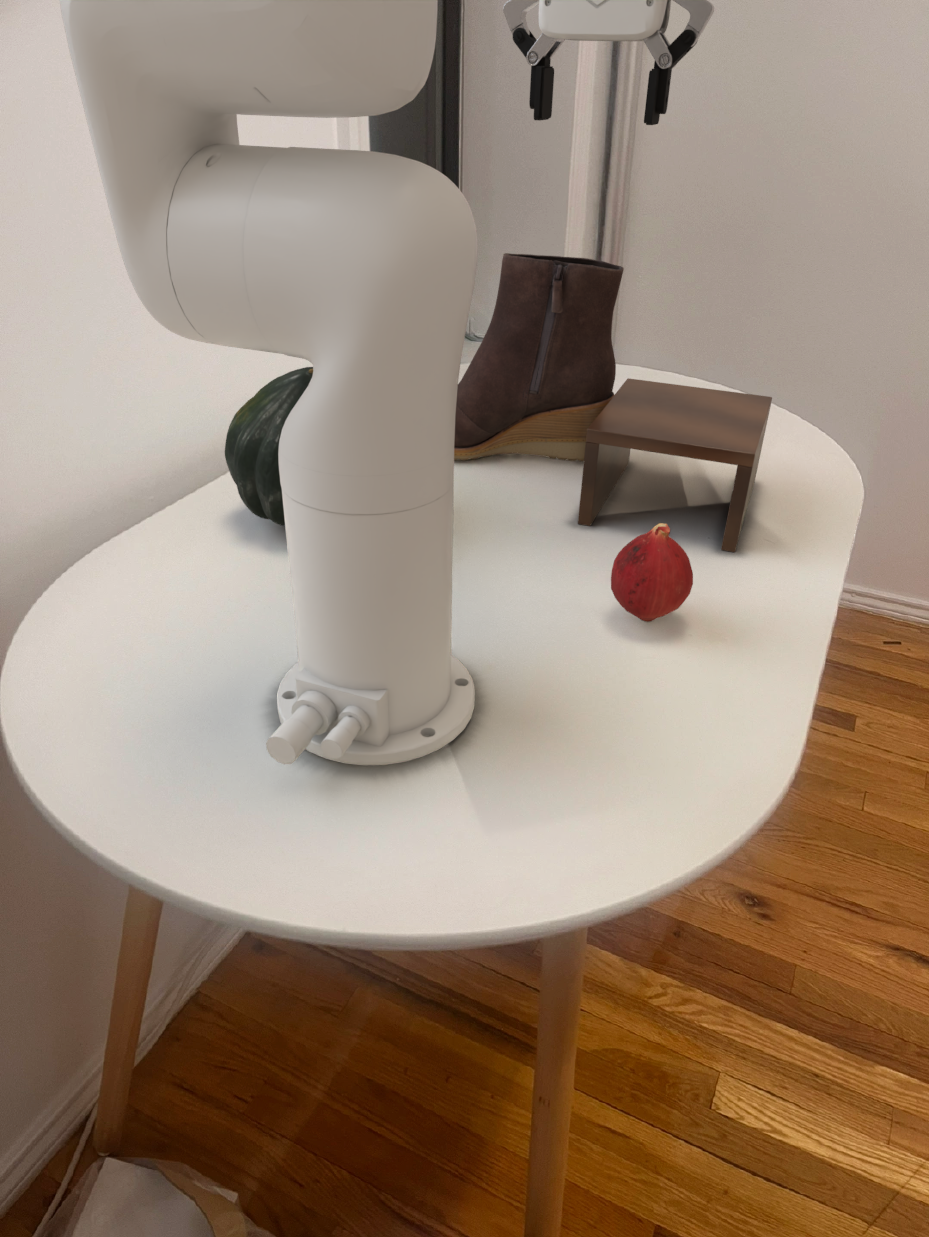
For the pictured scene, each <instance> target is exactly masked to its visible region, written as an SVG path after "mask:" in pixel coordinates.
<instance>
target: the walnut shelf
mask: <svg viewBox="0 0 929 1237" xmlns="http://www.w3.org/2000/svg"><path fill="white" fill-rule="evenodd" d="M772 400H773V397H772V396H767V395H760V394H752V393H745V392H744V393H743V392H736V391H729V390H722V389H721V390H720V389H713V388H705V387H697V386H690V385H683V384H682V385H681V384H675V383H667V382H658V381H651V380H644V379H636V378H629V377H627V379H626V380H625V381H624V382H623V383H622V385H621V386H620V387H619V389H618V390H617V391H616V392H615V393H614V396H613V397H612V399H611V400H610V401H609V402H608V404H607V405H606V406H605V407H604V409H603V410H602V411H601V412H600V414H599V415H598V416H597V418H596V419H595V420H594V421H593V423H592V424H591V425H590V426H589V428H588V429H587V435H586V444H585V455H584V461H583V465H582V466H583V467H582V476H581V484H580V485H581V487H580V495H579V507H578V516H577V524H578V525H582V526H586V527H587V526H588V527H591V526H592V524H593V523H594V521H595V519H596V517H597V516H598V514H599V512H600V511H601V510H602V508H603V507H604V505H605V503H606V502H607V500H608V498H609V496H610V495H611V493H612V492H613V491H614V489H615V487H616V485H617V484H618V482H619V481H620V479H621V477H622V476H623V474H624V472H625V471H626V470H627V468H628V466H629V462H630V457H631V456H630V455H631V450H635V451H636V450H637V451H642V452H648V453H649V452H650V453H656V454H662V455H670V456H676V457H683V458H688V459H694V460H700V461H708V462H715V463H720V464H721V463H722V464H727V465H734V466H737V467H736V470H735V476H734V482H733V486H732V491H731V495H730V496H731V497H730V502H729V507H728V512H727V517H726V522H725V528H724V532H723V537H722V542H721V548H720V551H724V552H729V553H730V552H731V553H736V551H737V546H738V543H739V540H740V537H741V533H742V530H743V526H744V523H745V518H746V515H747V512H748V508H749V504H750V500H751V497H752V493H753V490H754V486H755V483H756V482H755V481H756V477H757V472H758V468H759V463H760V460H761V459H760V458H761V454H762V449H763V445H764V444H763V443H764V439H765V434H766V430H767V425H768V420H769V415H770V411H771V406H772V403H773V402H772Z"/></svg>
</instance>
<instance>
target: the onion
mask: <svg viewBox="0 0 929 1237" xmlns="http://www.w3.org/2000/svg"><path fill="white" fill-rule="evenodd" d="M670 533H671V528H670V526H669V525H668V523H663V522H662V523H661V522H660V523H659V522H658V524H656V525H655V526H654V527H652V528H651V529H650V530H648V531H647V532H646V533H642V534H640V535H637V536H635V538H633V539H632V540H630V541H629V542H627V544H625V545H624V546H623V547H622V548H621V549H620V550H619V552H618V553H617V555H616V556H615V558H614V560H613V565H612V568H611V573H610V589H611V591H612V594H613V596H614V599H615V600H616V601H617V602H618V604H619V605H620V607H622V608H623V610H625V611H626V612H628V613H629V614H631V615H632V616H633V617H636V618H638V619H639V620H641V621H642V622H644V623H645V622H646V623H648V622H649V623H650V622H654V621H655V620H657V619H659V618H662V617H665V616H667V615H669V614H670V613H671V614H672V613H673V612H674V611H677V610H678V609H679V608H681V606H682V605H683V603H684V602H686V600H687V598H688V597H689V596H690V594H691V592H692V588H693V585H694V572H693V568H692V564H691V561H690V558H689V556H688V554H687V552H686V551H685V549H684V548H683V547H682V546H681V544H679V543H678V541H676V540H675V539H673V537H671V536H670Z"/></svg>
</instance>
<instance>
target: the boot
mask: <svg viewBox="0 0 929 1237" xmlns="http://www.w3.org/2000/svg"><path fill="white" fill-rule="evenodd" d="M624 270H625V268H624V266H622V265H617V264H613V263H610V262H607V261H604V260H597V259H593V258H588V257H574V256H561V255H543V254H542V255H541V254H531V253H530V254H529V253H509V252H505V253H503V255H502V259H501V268H500V276H499V283H498V289H497V295H496V300H495V305H494V309H493V313H492V317H491V320H490V323H489V324H488V327H487V330H486V332H485V333H484V336H483V338H482V341H481V342H480V345H479V346H478V348H477V350H476V352H475V354H474V356H473V357H472V360H471V361H470V363H469V365H468V366H467V368H466V370H465V372H464V374H463V375H462V378H461V380H460V381H458V389H457V402H456V415H455V441H454V461H459V460H460V461H468V460H477V459H480V458H486V457H491V456H494V455H507V454H511V455H512V454H514V455H517V454H518V455H529V456H539V457H547V458H548V459H550V460H551V459H552V460H556V459H558V460H562V461H571V462H576V461H579V462H584V455H585V444H586V435H587V429H588V428H589V426H590V425H591V424H592V423H593V421H594V420H595V419H596V418H597V416H598V415H599V414H600V412H601V411H602V410H603V409H604V407H605V406H606V405H607V404H608V402H609V401H610V400H611V399H612V397H613V396H614V395H615V393H614V391H613V390H614V386H615V381H616V375H617V374H616V373H617V370H616V369H617V363H616V358H615V351H614V346H613V341H612V330H613V328H612V326H613V317H614V310H615V306H616V302H617V299H618V293H619V289H620V286H621V282H622V278H623V274H624Z"/></svg>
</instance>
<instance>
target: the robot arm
mask: <svg viewBox="0 0 929 1237" xmlns="http://www.w3.org/2000/svg"><path fill="white" fill-rule="evenodd" d="M672 1H673V2H675V3H676V4H677V5H679V6H680V7H682V8H683V9H685V10H686V11H687V12H688V13H689V20H688V22H687V24H686V26H685V28H684V29H683V31H682V32H681V33H680V34H679V35H678V36H677V37H676V38H675V39H674V40H673V41H672V42H671V43H670V41H669V39H668V38H667V36H666V34H665V33H666V32H667V29H668V26H669V20H670V15H671V7H672ZM59 5H60V13H61V18H62V23H63V27H64V28H63V29H64V32H65V37H66V42H67V46H68V50H69V56H70V60H71V63H72V67H73V71H74V76H75V79H76V83H77V88H78V91H79V95H80V100H81V103H82V108H83V111H84V115H85V119H86V123H87V127H88V132H89V136H90V139H91V143H92V148H93V151H94V155H95V160H96V163H97V167H98V172H99V175H100V179H101V183H102V187H103V191H104V194H105V199H106V203H107V207H108V210H109V215H110V219H111V222H112V226H113V230H114V234H115V238H116V241H117V245H118V248H119V251H120V252H119V253H120V255H121V258H122V262H123V265H124V267H125V270H126V273H127V275H128V278H129V281H130V282H131V284H132V287H133V289H134V291H135V293H136V295H137V297H138V299H139V301H140V302H141V304H142V306H144V308H145V310H146V311H147V312H148V314H150V316H152V318H153V319H154V320H155V321H157V323H159V324H160V325H161V326H162V327H163V328H164V329H166V330H168V331H170V332H171V333H173V334H175V335H177V336H180V337H182V338H185V339H188V340H191V341H195V342H201V343H205V344H211V345H216V346H217V345H218V346H220V347H221V346H222V347H228V348H237V349H242V350H250V351H251V350H252V351H258V352H265V353H273V354H280V355H284V356H287V357H292V358H298V359H304V360H305V361H309V362H310V364H311V365H312V367H313V376H312V379H311V381H310V383H309V385H308V387H307V388H306V390H305V391H304V393H303V394H302V396H301V397H300V399H299V400H298V402H297V403H296V405H295V406H294V407H293V409H292V410H291V412H290V414H289V415H288V417H287V419H286V421H285V423H284V426H283V428H282V432H281V436H280V440H279V451H278V461H279V474H280V484H281V488H282V498H283V508H284V518H285V526H284V528H285V538H286V539H285V540H286V548H287V558H288V559H287V560H288V570H289V576H290V577H289V579H290V590H291V599H292V610H293V611H292V612H293V620H294V631H295V640H296V642H295V643H296V651H297V662H295V663H294V664H293V665H292V666H291V667H290V668H289V669H288V670H287V671H286V672H285V673H284V674H285V675H284V676H283V678H282V679H281V681H280V683H279V686H278V689H277V693H276V705H277V706H276V708H277V713H278V719H279V722H280V725H279V726H278V728H276V730H275V731H274V732H273V733H272V734H271V735H270V736H269V737H268V739H267V740H266V742H265V745H266V751H267V752H268V755H269V756H270V757H271V758H272V759H274V760H275V761H276V762H278V763H280V764H283V765H293V763H295V762H296V761H297V760H298V759H299V757H300V756H301V755H302V753H303V752H304V751H305V750H306V751H307V752H309V753H311V754H314V755H316V756H319V757H321V758H323V759H326V760H330V761H334V762H337V763H341V764H348V765H355V766H387V765H393V764H401V763H405V762H410V761H413V760H416V759H419V758H422V757H425V756H428V755H429V754H432V753H434V752H436V751H439V750H441V749H442V748H444V747H446V746H447V745H448V744H450V743H451V742H453V741H454V740H455V739H456V738H457V737H458V736H459V735H460V734H461V733H462V732H463V731H464V730H465V729H466V727H467V726H468V724H469V723H470V721H471V719H472V717H473V713H474V709H475V701H476V700H475V698H476V688H475V683H474V679H473V678H472V676H471V673H470V672H469V670H468V669H467V667H466V666H465V665H464V664H463V663H462V662H461V661H460V660H459V659H458V658H457V657H456V656H454V655H453V654H452V633H453V632H452V625H453V624H452V622H453V621H452V620H453V562H454V560H453V559H454V558H453V556H454V554H453V553H454V508H455V507H454V504H455V502H454V501H455V500H454V499H455V460H454V441H455V415H456V402H457V389H458V384H459V379H460V370H461V363H462V357H463V356H462V355H463V354H462V353H463V349H464V343H465V339H466V338H465V337H466V331H467V328H468V327H467V325H468V321H469V315H470V310H471V306H472V305H471V304H472V299H473V294H474V289H475V282H476V275H477V266H478V248H479V247H478V245H479V243H478V240H479V239H478V231H477V225H476V221H475V218H474V215H473V211H472V208H471V206H470V204H469V202H468V200H467V198H466V197H465V195H464V194H463V192H462V191H461V190H460V188H459V187H458V186H457V185H456V184H455V183H454V182H453V181H452V180H451V179H450V178H449V177H448V176H446V175H445V174H444V173H442V172H441V171H439V170H438V169H436V168H434V167H432V166H430V165H428V164H426V163H424V162H421V161H419V160H416V159H412V158H409V157H405V156H401V155H398V154H394V153H386V152H381V151H380V152H379V151H375V150H373V151H372V150H371V151H370V150H359V149H342V148H341V149H337V148H320V147H317V148H316V147H303V146H289V147H280V146H263V145H247V144H246V145H245V144H240V136H239V129H238V116H237V115H241V116H242V115H243V116H244V115H245V116H263V117H265V116H266V117H289V118H319V119H320V118H321V119H331V118H332V119H334V118H336V119H338V118H362V117H373V116H375V117H376V116H381V115H383V114H387V113H391V112H394V111H397V110H399V109H401V108H402V107H404V106H405V105H407V104H409V103H411V102H412V101H413V100H414V99H415V98H416V97H417V96H418V94H420V92H421V90H422V89H423V88H424V86H425V85H426V82H427V80H428V78H429V76H430V75H429V74H430V72H431V67H432V64H433V60H434V55H435V50H436V41H437V29H438V0H59ZM535 7H538V18H537V19H538V20H537V21H538V28H539V30H540V32H541V34H540V35H539V37H538V38H536V37H535V36H534V34H533V33H532V31H531V30H530V29H529V26H528V22H527V19H526V17H527V13H528V12H529V11H531V10H532V9H534V8H535ZM502 11H503V14H504V17H505V20H506V23H507V25H508V28H509V31H510V32H511V34H512V41H513V42H514V44H515V45H516V47H517V48H518V50H519V51H520V52H521V53H522V55H523V56H524V58H525V60H526V62H527V64H528V65H529V66H530V80H529V81H530V83H529V84H530V85H529V108H530V110H533V120H534V121H546V120H549V119H551V118H552V114H553V101H554V100H553V99H554V82H555V68H554V66H552V65H551V60H552V58H553V56H554V55H555V54H556V53H557V51H558V50H559V49H560V48H561V46H562V45H563V43H564V42H565V41H577V42H579V41H581V42H582V41H583V42H586V41H587V42H644V45H645V46H646V48H647V49H648V51H649V53H650V54H651V56H652V57H653V59H654V61H653V62H654V63H653V68H651V70H649V72H648V80H647V88H646V97H645V105H644V106H645V107H644V117H643V124H645V125H646V126H655V125H658V124H659V122H660V117H661V115H666V114H667V110H668V105H669V104H668V103H669V95H670V89H671V82H672V81H671V79H672V73H673V69H674V68H675V67H676V66H677V65H678V63H680V61H681V60H682V59H683V58H684V57H685V56H686V55H688V53H689V52H690V51H691V50H692V49H693V48H694V47H695V46H696V45H697V44H698V40H699V39H700V37H701V35H702V34H703V32H704V30H705V29H706V27H707V25H708V24H709V22H710V20H711V19H712V17H713V15H714V13H715V6H714V4H713V3H712V2H711V1H709V0H507V1H506V2H505V3H504V4H503V7H502Z"/></svg>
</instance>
